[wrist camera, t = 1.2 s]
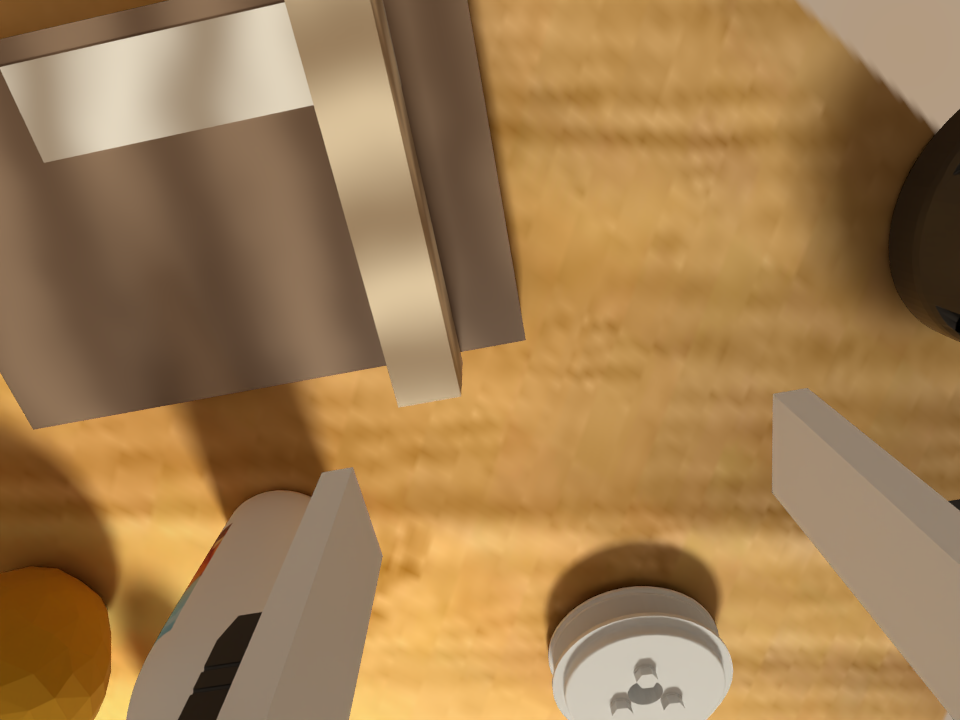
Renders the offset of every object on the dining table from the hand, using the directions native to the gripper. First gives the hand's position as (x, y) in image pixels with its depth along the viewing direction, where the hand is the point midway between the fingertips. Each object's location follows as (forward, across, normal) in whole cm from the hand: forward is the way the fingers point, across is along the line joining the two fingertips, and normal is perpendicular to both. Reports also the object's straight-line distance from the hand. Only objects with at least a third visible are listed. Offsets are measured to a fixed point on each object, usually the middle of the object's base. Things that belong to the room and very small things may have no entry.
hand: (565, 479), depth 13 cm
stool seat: (+20, +14, -6) cm, 25 cm away
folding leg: (+16, +5, -5) cm, 18 cm away
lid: (+20, -4, +30) cm, 36 cm away
